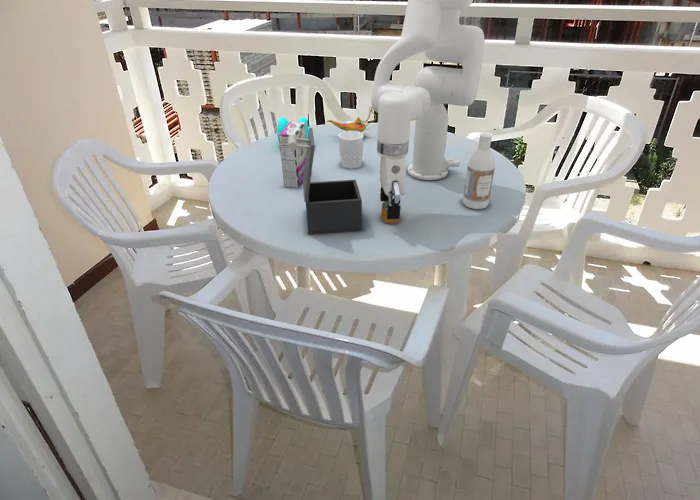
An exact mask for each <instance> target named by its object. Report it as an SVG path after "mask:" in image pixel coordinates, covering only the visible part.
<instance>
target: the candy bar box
mask: <svg viewBox="0 0 700 500" xmlns="http://www.w3.org/2000/svg"><path fill="white" fill-rule="evenodd" d="M289 135H295V136H296V138H301V139H306V132H305V123H304V122H298V121H289V124H288V125H287V126H286V127H285V128H284V130H283V131H282V132H281V133H280V134H279V135H278V134H277V137H278V136H279V141H278V144H279V153H280V162H281V169H282V177H283V187H284V188H292V189H300V187H301V186H302V185H303V174H304V166H305V158H306V149H302V148H296V149H295V150H290V149H289V148H288V137H289ZM297 144H299V145H307V144H306V143H304V142H297Z"/></svg>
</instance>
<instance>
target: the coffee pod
mask: <svg viewBox="0 0 700 500" xmlns="http://www.w3.org/2000/svg"><path fill="white" fill-rule="evenodd" d="M387 204H389V201H384V202H382V203H381V214H380V220H381V221H382V222H383V223H385V224H396V223H398V222H399V220H400V218H399V219H387Z"/></svg>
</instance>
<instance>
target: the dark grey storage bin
mask: <svg viewBox="0 0 700 500" xmlns="http://www.w3.org/2000/svg"><path fill="white" fill-rule="evenodd" d="M359 189H360V188H359V186H358V182H357V179H346V180H345V179H344V180H343V179H342V180H327V181H326V180H325V181H310V188H309V195H308V202H305V213H306V225H307V234H308V235H319V234H321V235H322V234H334V233H347V232H348V233H349V232H361V231H362V230H363V225H362V224H363V223H362V222H363V221H362V220H363V200H362V196H361V192H360V190H359Z"/></svg>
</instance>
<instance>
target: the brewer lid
mask: <svg viewBox="0 0 700 500" xmlns="http://www.w3.org/2000/svg"><path fill="white" fill-rule="evenodd" d="M297 142H304V143H307V145H299V144H297ZM288 148H289V149H290V150H295V149H296V148H302V149H306V158H305V166H304V174H303V182H302V189H303V201H304V203H306V202H308V195H309V188H310V182H311V180H312V171H313V165H314V157H315V149H316V144H315V137H314V131H313V128H312V127H309V133H308V139H301V138H296V136H295V135H289V137H288Z"/></svg>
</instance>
